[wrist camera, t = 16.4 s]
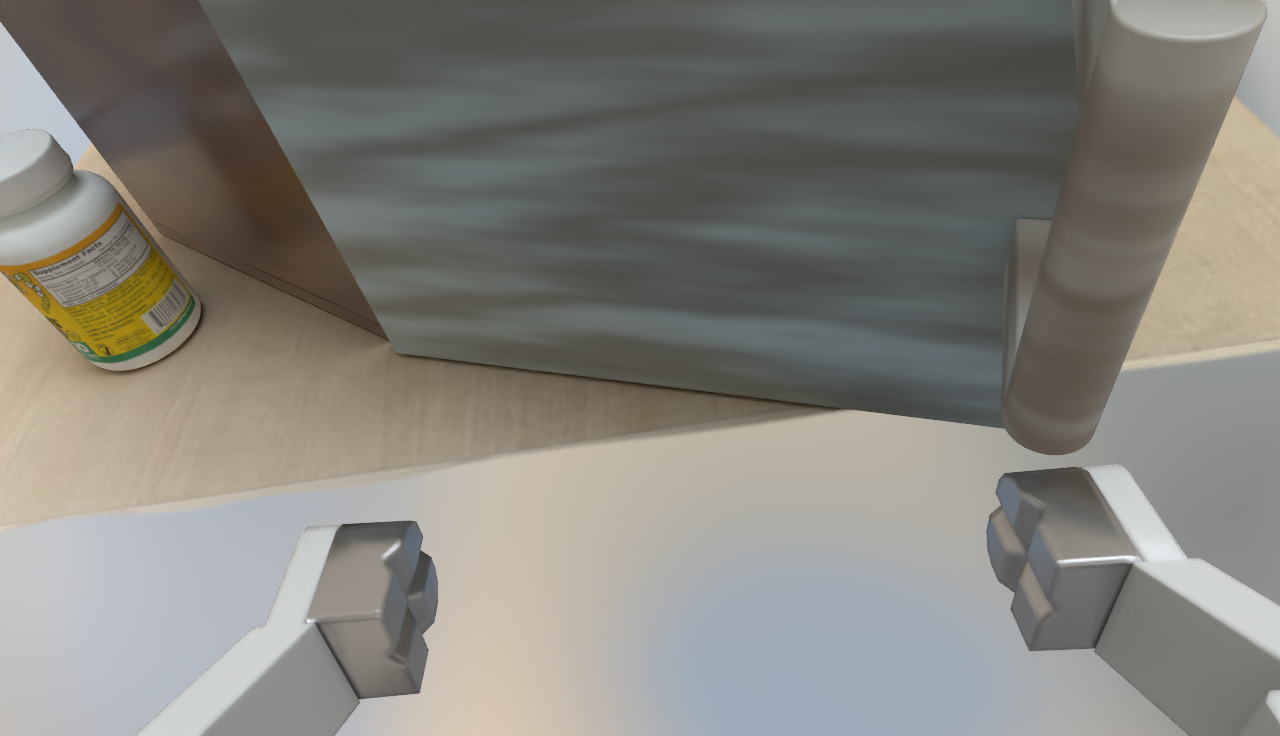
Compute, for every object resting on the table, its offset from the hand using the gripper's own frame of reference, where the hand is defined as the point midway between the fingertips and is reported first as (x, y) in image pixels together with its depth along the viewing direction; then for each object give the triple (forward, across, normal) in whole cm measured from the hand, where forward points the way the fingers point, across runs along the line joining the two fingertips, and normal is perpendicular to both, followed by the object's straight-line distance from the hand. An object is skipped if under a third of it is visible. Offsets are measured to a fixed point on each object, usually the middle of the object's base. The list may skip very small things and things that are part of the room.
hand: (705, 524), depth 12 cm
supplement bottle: (+24, +24, +12) cm, 36 cm away
